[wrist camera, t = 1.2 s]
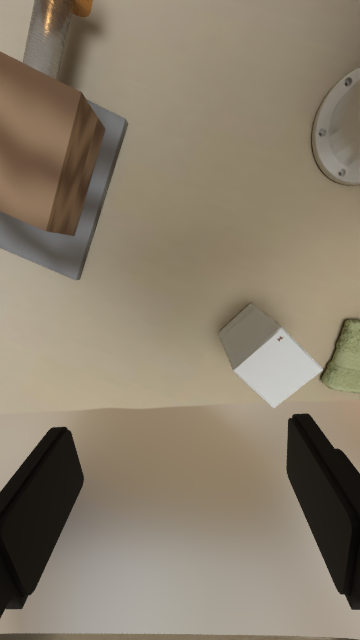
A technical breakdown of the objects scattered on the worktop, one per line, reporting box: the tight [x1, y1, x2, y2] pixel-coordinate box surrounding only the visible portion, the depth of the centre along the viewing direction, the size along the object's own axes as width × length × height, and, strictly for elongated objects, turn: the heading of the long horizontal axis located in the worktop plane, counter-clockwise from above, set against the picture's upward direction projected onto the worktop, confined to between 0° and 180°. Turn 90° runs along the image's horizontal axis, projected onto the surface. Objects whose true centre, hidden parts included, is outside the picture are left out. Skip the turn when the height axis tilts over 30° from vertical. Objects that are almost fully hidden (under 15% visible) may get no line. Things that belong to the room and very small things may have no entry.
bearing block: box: [0, 52, 128, 280], centre depth 29 cm, size 22×16×8 cm
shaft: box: [23, 0, 93, 80], centre depth 25 cm, size 20×6×6 cm, turn 156°
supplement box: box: [218, 303, 323, 408], centre depth 32 cm, size 7×7×13 cm
